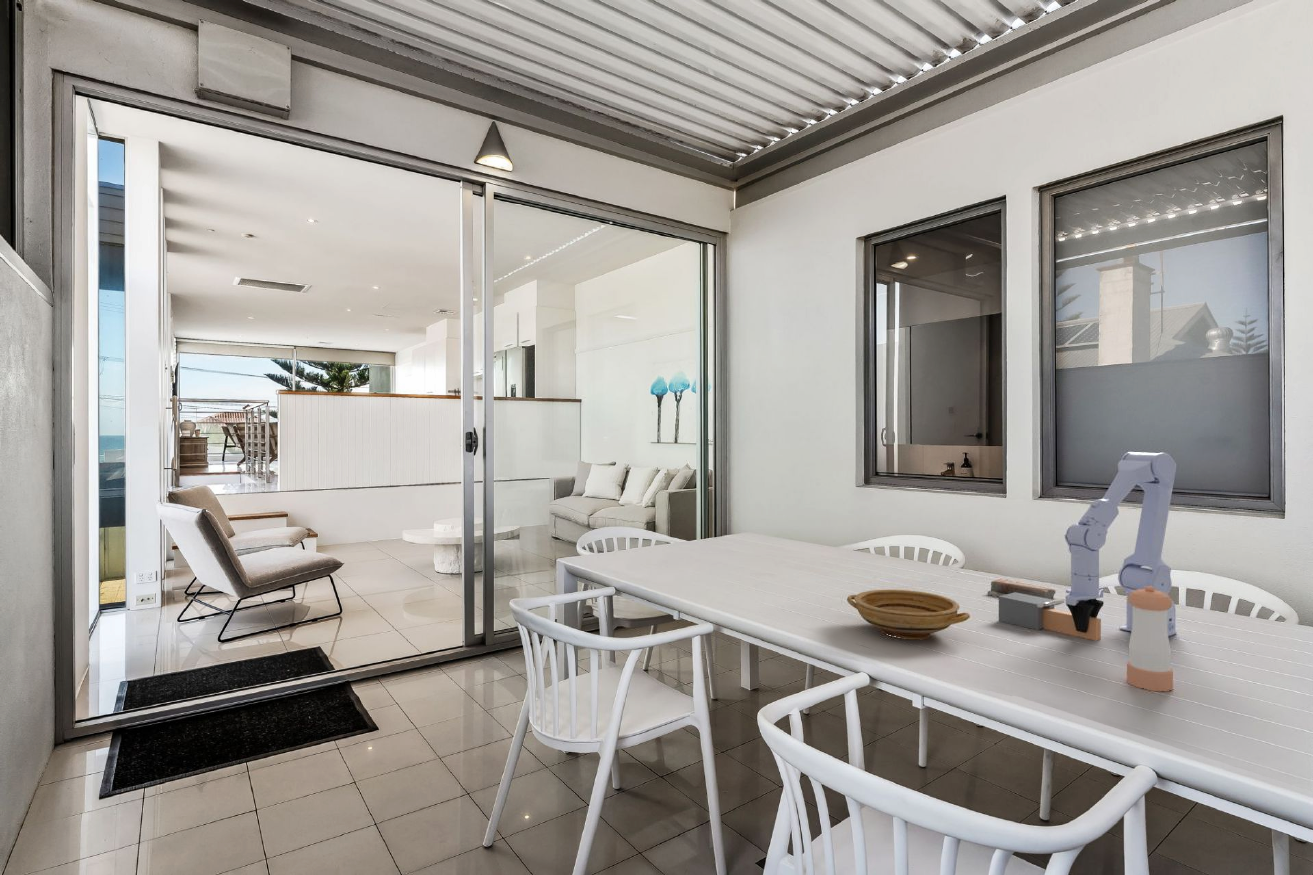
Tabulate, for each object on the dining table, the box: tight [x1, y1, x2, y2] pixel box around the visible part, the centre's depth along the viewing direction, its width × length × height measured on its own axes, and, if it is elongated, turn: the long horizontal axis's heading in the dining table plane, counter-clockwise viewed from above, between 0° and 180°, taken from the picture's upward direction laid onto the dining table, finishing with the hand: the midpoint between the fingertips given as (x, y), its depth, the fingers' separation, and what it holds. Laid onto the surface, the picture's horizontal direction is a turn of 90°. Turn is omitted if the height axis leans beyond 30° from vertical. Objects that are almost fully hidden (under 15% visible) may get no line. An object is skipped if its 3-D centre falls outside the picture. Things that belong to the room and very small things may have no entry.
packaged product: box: [986, 578, 1065, 606], centre depth 200 cm, size 18×5×10 cm
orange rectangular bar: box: [1043, 607, 1102, 641], centre depth 167 cm, size 16×2×5 cm, turn 34°
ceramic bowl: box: [846, 589, 971, 640], centre depth 167 cm, size 30×24×8 cm
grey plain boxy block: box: [998, 592, 1058, 631], centre depth 174 cm, size 11×8×6 cm
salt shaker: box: [1126, 586, 1174, 692], centre depth 132 cm, size 7×7×19 cm
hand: (1084, 630), depth 163 cm, fingers open, 2 cm apart
